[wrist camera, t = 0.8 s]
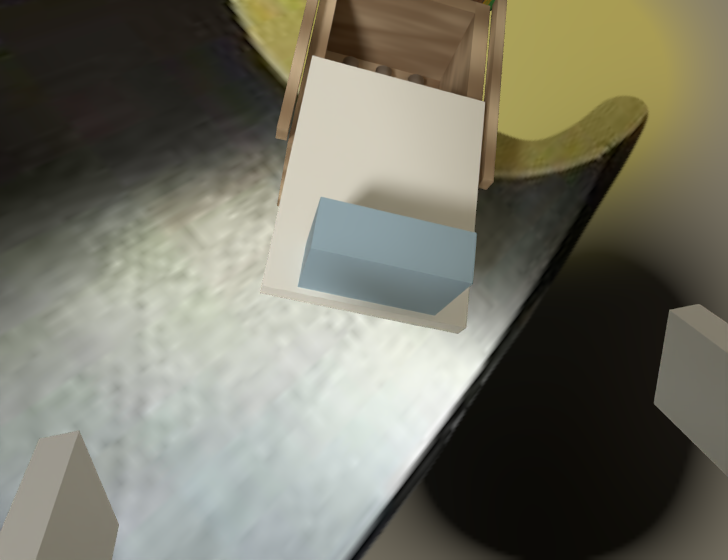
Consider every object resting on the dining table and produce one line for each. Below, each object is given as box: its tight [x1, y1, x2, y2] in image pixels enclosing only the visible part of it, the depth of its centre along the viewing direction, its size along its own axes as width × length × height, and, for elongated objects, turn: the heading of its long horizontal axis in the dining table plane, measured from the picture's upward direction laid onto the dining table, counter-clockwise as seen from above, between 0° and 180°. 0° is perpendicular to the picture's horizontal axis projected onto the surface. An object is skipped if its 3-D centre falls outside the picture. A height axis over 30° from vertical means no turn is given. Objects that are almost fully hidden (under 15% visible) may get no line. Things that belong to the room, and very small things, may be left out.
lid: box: [260, 55, 485, 334], centre depth 30 cm, size 14×10×6 cm
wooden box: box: [276, 0, 507, 206], centre depth 39 cm, size 14×12×9 cm
